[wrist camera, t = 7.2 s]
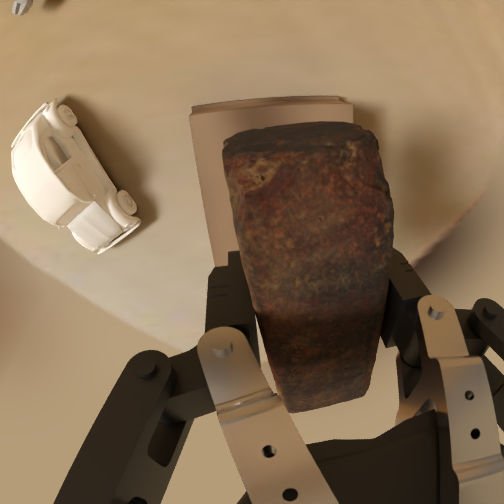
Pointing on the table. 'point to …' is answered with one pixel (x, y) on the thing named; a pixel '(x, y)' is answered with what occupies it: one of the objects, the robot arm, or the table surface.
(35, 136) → the car
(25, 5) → the robot toy
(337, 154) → the brick
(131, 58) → the table surface
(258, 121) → the base brick
